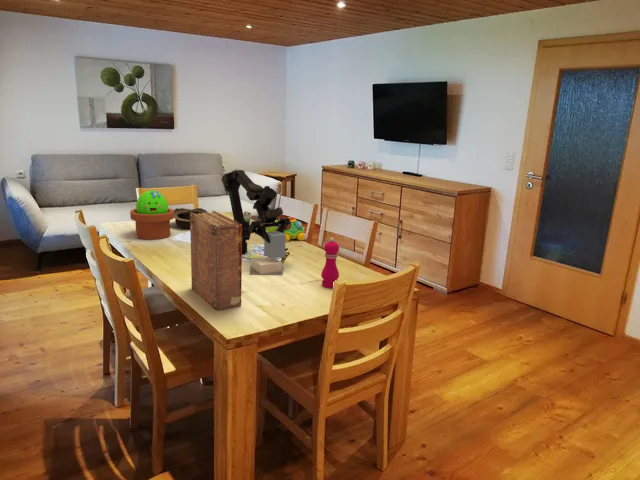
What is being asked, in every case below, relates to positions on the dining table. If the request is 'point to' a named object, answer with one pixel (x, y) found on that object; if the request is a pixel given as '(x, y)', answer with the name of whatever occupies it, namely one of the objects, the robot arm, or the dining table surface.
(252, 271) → the baseplate
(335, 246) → the pepper mill
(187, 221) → the stone bowl
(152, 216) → the potted cactus
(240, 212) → the robot arm
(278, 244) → the tall brick
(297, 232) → the turtle toy
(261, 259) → the base brick
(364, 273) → the dining table surface
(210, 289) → the book
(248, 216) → the food container
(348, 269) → the dining table surface
